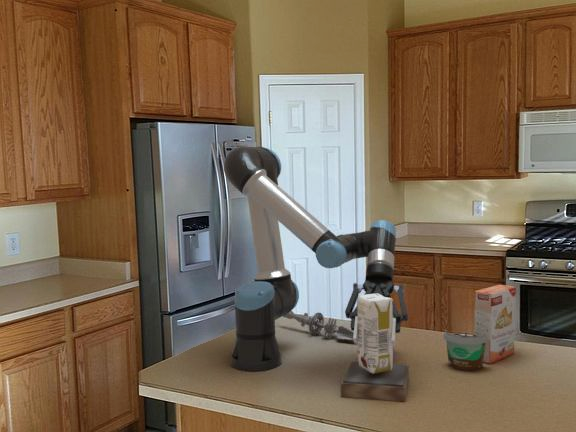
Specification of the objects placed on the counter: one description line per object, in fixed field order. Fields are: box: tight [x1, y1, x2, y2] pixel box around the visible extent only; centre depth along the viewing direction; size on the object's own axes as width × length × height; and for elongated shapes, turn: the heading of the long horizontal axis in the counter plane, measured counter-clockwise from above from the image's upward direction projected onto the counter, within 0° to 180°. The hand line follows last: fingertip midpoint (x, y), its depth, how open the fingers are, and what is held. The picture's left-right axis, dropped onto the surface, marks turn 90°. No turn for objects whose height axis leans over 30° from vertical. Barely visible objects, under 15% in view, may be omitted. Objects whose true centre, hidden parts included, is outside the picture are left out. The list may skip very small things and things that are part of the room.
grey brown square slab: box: [340, 361, 410, 402], centre depth 160 cm, size 16×16×4 cm
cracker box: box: [473, 284, 517, 365], centre depth 181 cm, size 14×6×21 cm, turn 131°
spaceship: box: [282, 310, 354, 342], centre depth 209 cm, size 8×35×8 cm
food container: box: [443, 329, 488, 372], centre depth 172 cm, size 12×6×10 cm, turn 70°
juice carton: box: [357, 293, 394, 373], centre depth 158 cm, size 8×9×19 cm
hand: (374, 341), depth 156 cm, fingers closed on juice carton, 9 cm apart
